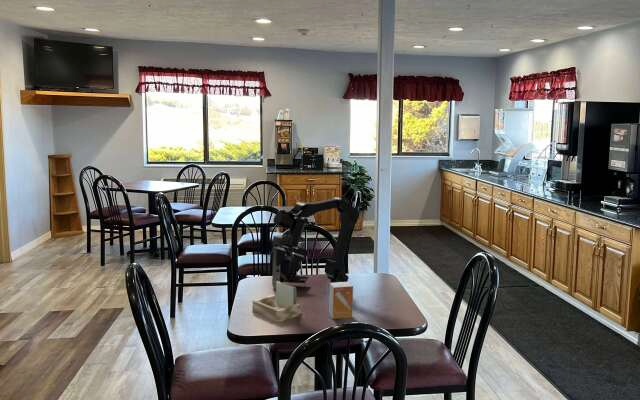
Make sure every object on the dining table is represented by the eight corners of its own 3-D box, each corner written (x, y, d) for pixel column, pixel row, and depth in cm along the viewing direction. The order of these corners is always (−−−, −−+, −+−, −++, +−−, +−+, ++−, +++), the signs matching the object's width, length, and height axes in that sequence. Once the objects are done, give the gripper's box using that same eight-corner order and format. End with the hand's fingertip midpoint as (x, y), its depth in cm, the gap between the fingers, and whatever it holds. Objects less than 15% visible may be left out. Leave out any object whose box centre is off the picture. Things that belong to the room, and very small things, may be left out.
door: (278, 303, 226) (277, 281, 225) (296, 310, 218) (296, 287, 217) (275, 304, 226) (275, 281, 224) (294, 311, 217) (294, 288, 216)
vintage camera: (304, 292, 247) (306, 248, 244) (271, 288, 250) (272, 245, 247) (309, 285, 256) (311, 244, 253) (277, 282, 259) (278, 241, 256)
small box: (332, 319, 213) (333, 287, 211) (328, 313, 219) (329, 282, 217) (352, 318, 214) (353, 286, 212) (348, 312, 221) (348, 281, 219)
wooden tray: (275, 304, 229) (275, 294, 228) (301, 314, 218) (301, 303, 217) (252, 311, 221) (252, 300, 220) (278, 322, 209) (278, 311, 209)
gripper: (267, 223, 228) (255, 259, 226) (293, 230, 214) (280, 268, 212) (288, 230, 235) (276, 265, 233) (314, 237, 220) (302, 275, 219)
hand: (283, 268), depth 224 cm, fingers open, 9 cm apart
